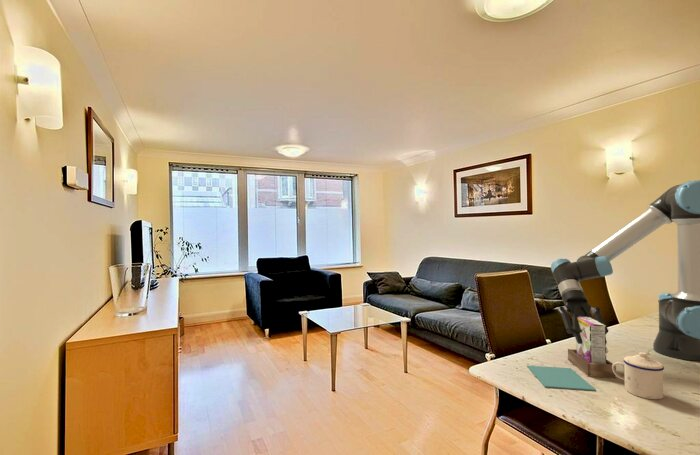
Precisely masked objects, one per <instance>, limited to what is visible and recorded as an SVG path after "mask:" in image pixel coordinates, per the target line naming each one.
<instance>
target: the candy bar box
mask: <svg viewBox="0 0 700 455" xmlns="http://www.w3.org/2000/svg"><path fill="white" fill-rule="evenodd" d="M577 319H578V322H579V333H583V335H584V338H585V340H586V343H587V345H588V348H589V352H588V353H587V354H584V352H583V350H582V347H581V344H578V343H577V341H576V340H575V341H576V342H575V344H576V351H577V354H578V355H579V356H580V357H582V358H583V359H584V360H586V361H587V362H588V363H596V364H606V359H607V354H606V347H607V343H606V341H607V334H606V326H607V325H604V324H602V323H600V322H598V321H596V320H595V318H594V317H593V318H591V317H582V316H581V317H580V316H578V317H577Z"/></svg>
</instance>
